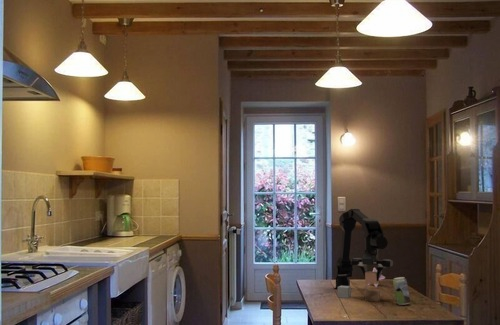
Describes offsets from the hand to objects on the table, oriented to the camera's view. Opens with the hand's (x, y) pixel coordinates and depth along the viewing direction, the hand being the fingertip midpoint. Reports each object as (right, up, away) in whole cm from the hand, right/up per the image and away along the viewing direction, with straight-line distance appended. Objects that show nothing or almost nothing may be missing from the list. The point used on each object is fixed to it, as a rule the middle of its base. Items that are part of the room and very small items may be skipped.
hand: (372, 280), depth 262 cm
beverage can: (+10, -8, -13) cm, 18 cm away
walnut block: (0, -9, -1) cm, 9 cm away
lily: (+11, -12, +42) cm, 45 cm away
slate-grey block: (-12, -9, +7) cm, 16 cm away
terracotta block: (0, -1, 0) cm, 1 cm away
